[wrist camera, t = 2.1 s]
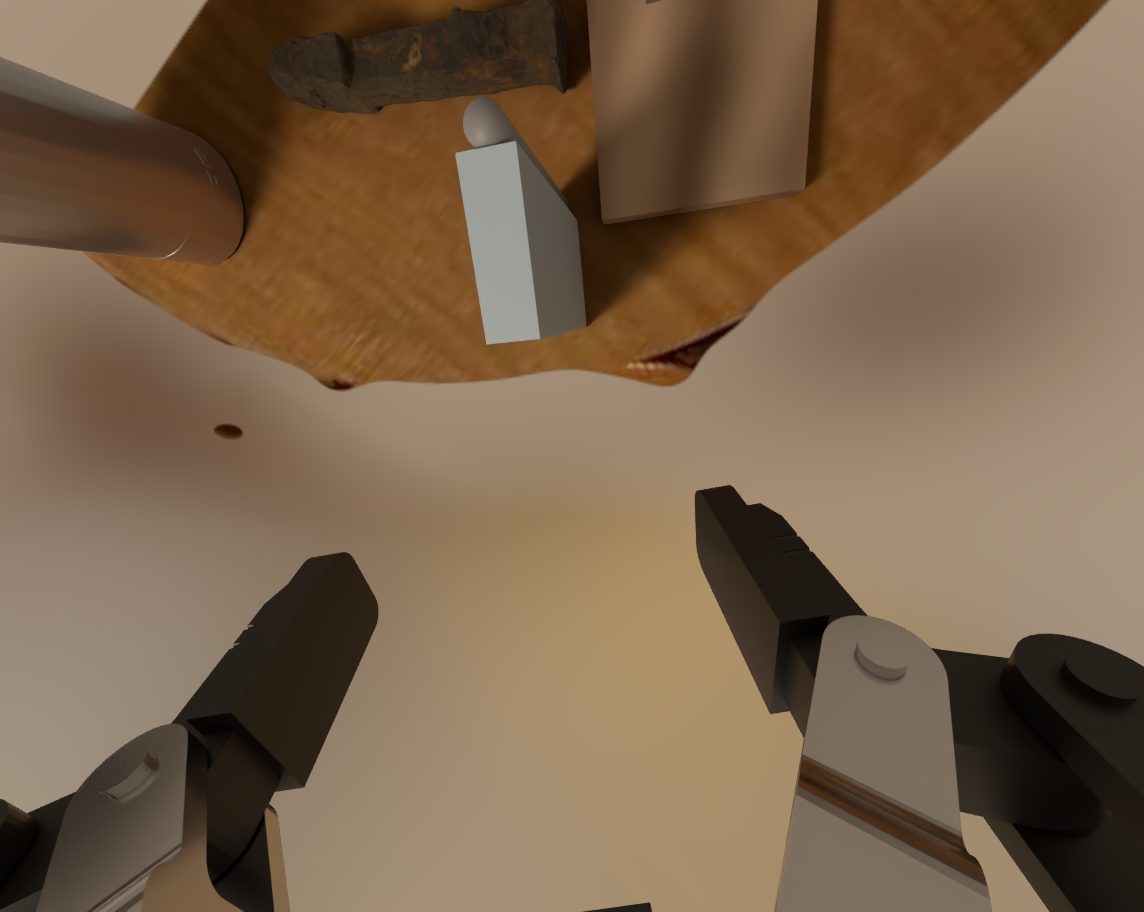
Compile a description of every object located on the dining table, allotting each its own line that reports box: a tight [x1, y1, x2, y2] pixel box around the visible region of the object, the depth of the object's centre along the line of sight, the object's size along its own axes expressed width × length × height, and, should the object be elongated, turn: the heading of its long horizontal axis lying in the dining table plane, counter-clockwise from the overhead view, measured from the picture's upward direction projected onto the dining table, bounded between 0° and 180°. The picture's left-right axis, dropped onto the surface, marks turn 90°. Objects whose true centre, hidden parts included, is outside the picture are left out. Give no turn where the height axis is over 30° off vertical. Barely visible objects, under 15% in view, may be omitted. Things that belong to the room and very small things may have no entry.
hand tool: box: [268, 0, 568, 114], centre depth 25 cm, size 19×4×5 cm, turn 91°
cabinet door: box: [455, 97, 587, 344], centre depth 22 cm, size 2×9×14 cm, turn 6°
